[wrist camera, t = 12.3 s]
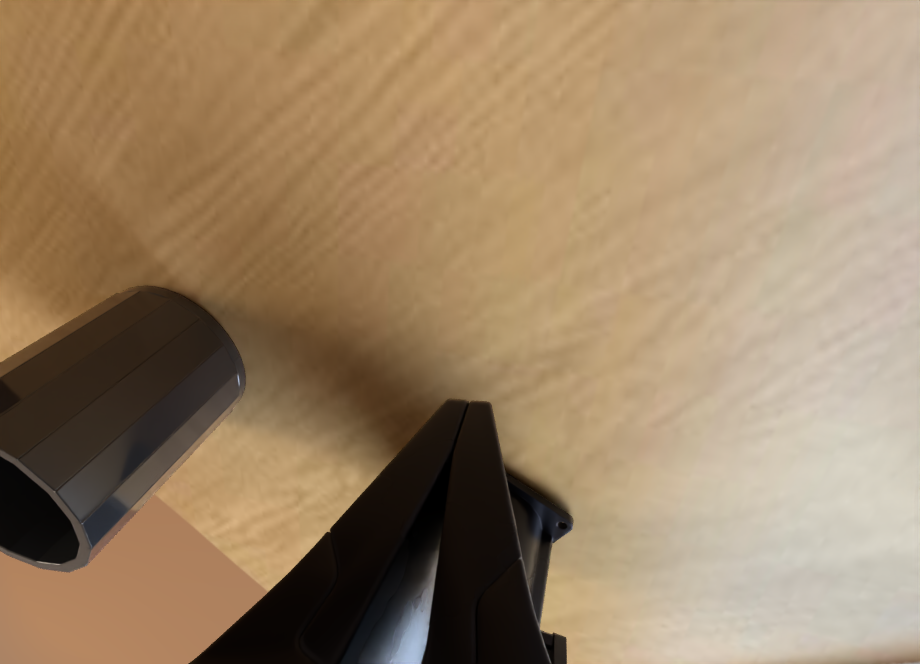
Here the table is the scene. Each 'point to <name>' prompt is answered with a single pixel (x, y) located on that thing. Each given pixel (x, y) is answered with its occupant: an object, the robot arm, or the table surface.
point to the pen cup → (106, 420)
